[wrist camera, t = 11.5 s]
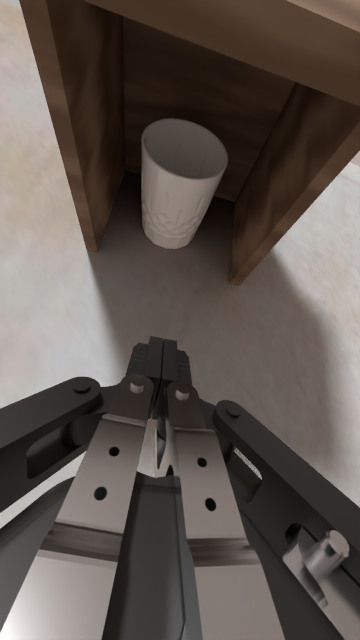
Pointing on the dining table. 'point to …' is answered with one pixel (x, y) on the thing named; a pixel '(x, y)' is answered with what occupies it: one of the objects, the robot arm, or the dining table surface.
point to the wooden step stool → (204, 99)
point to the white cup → (178, 179)
